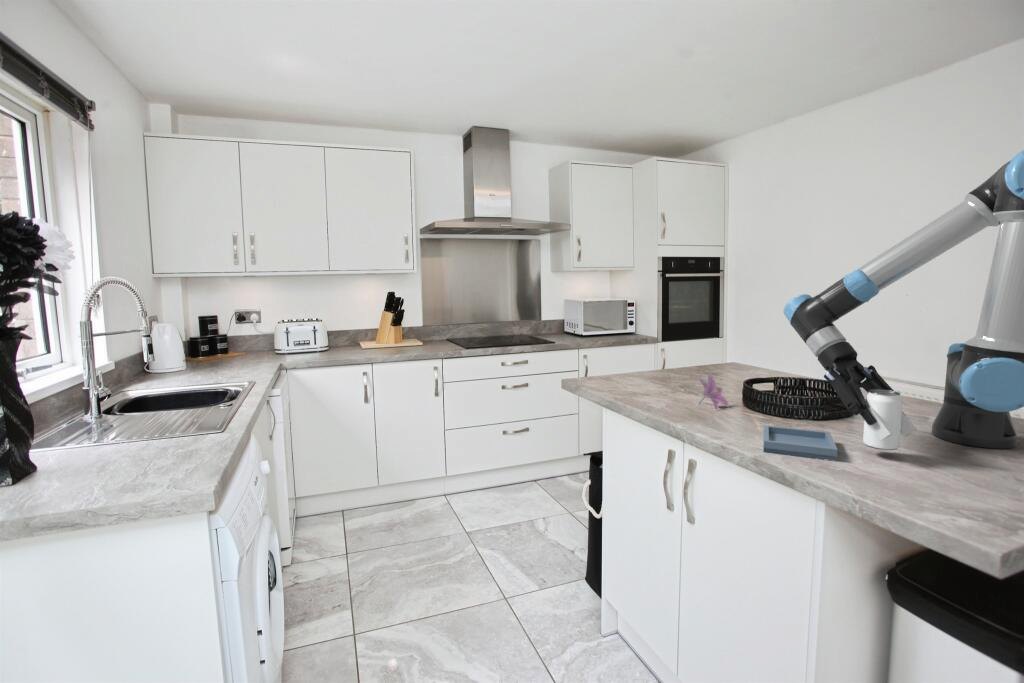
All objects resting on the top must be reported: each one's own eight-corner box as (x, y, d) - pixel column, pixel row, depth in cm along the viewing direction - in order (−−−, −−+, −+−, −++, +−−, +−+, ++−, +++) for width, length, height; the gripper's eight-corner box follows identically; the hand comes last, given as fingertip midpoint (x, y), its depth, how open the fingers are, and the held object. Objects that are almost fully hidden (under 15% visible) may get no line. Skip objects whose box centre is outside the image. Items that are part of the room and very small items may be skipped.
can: (905, 451, 107) (909, 395, 106) (871, 449, 109) (874, 394, 107) (889, 442, 114) (893, 389, 112) (857, 440, 115) (860, 388, 114)
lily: (695, 414, 151) (712, 389, 147) (677, 392, 161) (693, 367, 157) (726, 423, 154) (744, 398, 150) (707, 400, 164) (724, 376, 161)
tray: (829, 442, 121) (829, 432, 120) (836, 461, 108) (837, 449, 108) (763, 435, 127) (764, 425, 126) (763, 451, 114) (764, 441, 114)
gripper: (850, 356, 127) (916, 438, 113) (790, 362, 121) (852, 449, 107) (872, 337, 121) (944, 421, 108) (811, 342, 115) (879, 431, 101)
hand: (898, 434), depth 107 cm, fingers closed on can, 6 cm apart
